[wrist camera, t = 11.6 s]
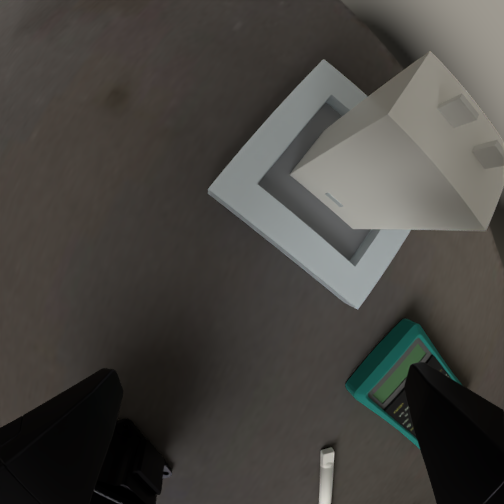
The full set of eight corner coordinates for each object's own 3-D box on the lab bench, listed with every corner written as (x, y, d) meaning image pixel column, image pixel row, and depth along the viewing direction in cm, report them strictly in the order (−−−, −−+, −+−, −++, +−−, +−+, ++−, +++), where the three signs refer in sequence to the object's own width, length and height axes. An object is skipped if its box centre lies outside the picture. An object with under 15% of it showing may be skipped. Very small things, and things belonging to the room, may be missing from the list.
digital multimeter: (417, 446, 25) (432, 460, 22) (338, 381, 23) (353, 398, 20) (463, 393, 25) (480, 404, 22) (399, 312, 23) (421, 321, 20)
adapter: (352, 229, 20) (509, 233, 8) (288, 175, 19) (409, 102, 7) (383, 183, 20) (534, 151, 8) (324, 130, 20) (449, 36, 7)
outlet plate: (344, 302, 22) (357, 309, 20) (207, 193, 20) (208, 188, 18) (425, 178, 22) (442, 174, 20) (313, 72, 20) (323, 59, 18)
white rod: (326, 524, 24) (329, 530, 23) (316, 526, 24) (319, 534, 23) (331, 445, 23) (336, 453, 22) (318, 448, 23) (323, 456, 22)
